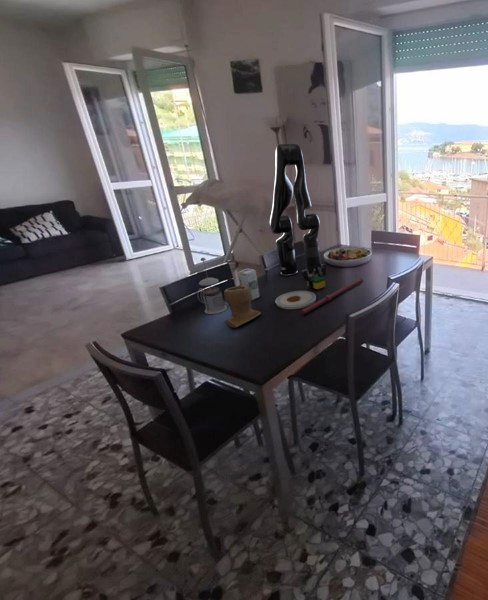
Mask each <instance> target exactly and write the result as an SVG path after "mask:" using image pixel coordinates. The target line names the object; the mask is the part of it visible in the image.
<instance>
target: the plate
mask: <svg viewBox="0 0 488 600" xmlns="http://www.w3.org/2000/svg"><path fill="white" fill-rule="evenodd" d="M274 301H275V305H276V307H278V308H280V309H282V310H298V309H305V308H307V307H309V306H310V305H312V304H314V303H316V302H317V295H316V294H315V293H314V292H312V291H310V290H309V291H308V290H295V291H289V292H286V293H283V294H281V295H279V296H278V297H276V299H275V300H274Z"/></svg>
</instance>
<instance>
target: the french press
mask: <svg viewBox="0 0 488 600" xmlns="http://www.w3.org/2000/svg"><path fill="white" fill-rule="evenodd" d="M200 261H201V262H203V265H204V266H203V267H204V270H205V273H206V278H203V279H202V280H200V281H199V282H198V285H199V286H201V287H200V288H199V289H198V291H197V294H199V292H200V294H202V296H200V297H199V296H197V299H198V301H199V302H200V303H201V304H204V306H205V309H204V314H207V315H215V314H220V313H222V312H224V311H226V310H227V309H228V306H227V304H225V301H224V298H223V293H222V291H221V288H220V287H217V286H214V285H216V284H217V283H219V281H220V280H219V278H215V277H209V275H208V272H207V268H206V265H205V261H206V258H205V257H201V258H200ZM208 286H209V287H208ZM212 286H213V287H212ZM202 287H207V288H202ZM200 290H201V291H200Z"/></svg>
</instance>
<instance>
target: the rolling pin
mask: <svg viewBox="0 0 488 600" xmlns="http://www.w3.org/2000/svg"><path fill="white" fill-rule="evenodd" d="M363 280H364V279H363V278H362V277H359V278H357V279H356V280H353V281H351V282H350V283H348V284H346V285H345V286H343V287H341V288H339V289H338V290H336V291H333V292H332V293H330V294H326V295H325V296H324V297H323V298H321V299H319V300H317V301H315V302H314V303H313V304H311V305H309V306H307V307H304V308H302V310H300V311H301V314H302V315H303V316H305V315H307V314H308V313H310V312H312V311H314V310H315V309H317V308H318V307H319V308H320V307H321V306H322V305H324V304H326V303H329V302H331V301H333V299H334V298H336V297H338V296H339V295H342V294H343V293H345V292H347V291H349V290H350V289H352V288H354V287H355V286H357V285H358V284H361V283H362V282H363Z"/></svg>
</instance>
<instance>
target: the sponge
mask: <svg viewBox="0 0 488 600" xmlns="http://www.w3.org/2000/svg"><path fill="white" fill-rule="evenodd" d="M312 281H313V288H312V289H315V290H319V289H322V288H325V287H326V286H327V285H326V278H325V277H324V276H323V277H320V276H318V274H314V277H313V280H312ZM306 282H307V283H306V284H307V287H309V282H308V281H306Z"/></svg>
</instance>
